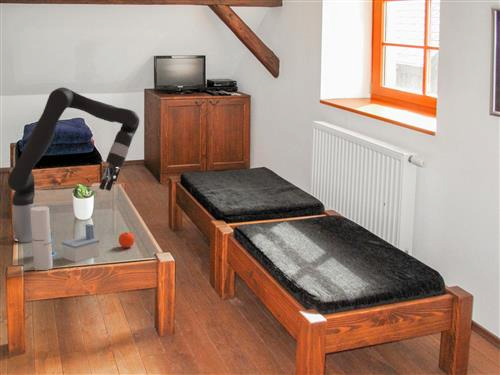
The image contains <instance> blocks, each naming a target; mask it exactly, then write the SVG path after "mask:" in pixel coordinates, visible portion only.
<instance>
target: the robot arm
mask: <svg viewBox="0 0 500 375" xmlns="http://www.w3.org/2000/svg"><path fill="white" fill-rule="evenodd" d="M68 108H70V109H76V110H78V111H79V110H80V111H83V112H84V113H87V114H89V115H91V116H93V117H95V118H97V119H100V120H102V121H103V120H104V121H105V122H106V121H107V122H110V123H117V124H121V126H120V129H119V130H118V132H117V133H116V134H115V138H114V140H113V143H112V145H111V147H110V149H109V151H108V155H107V157H106V160H105V163H107V164H108V166H107V165H105V166H104V169H103V171H102V174H101V175H100V180H101V181H100V185H99V187H98V189H100V190H102V191H103V190H104V191H105V190H106V191H108V192H110V191H111V189H112V188H113V184H114V183H115V182H117V179H118V177H119V174H120V172H121V168H123V167H124V164H125V161H126V160H127V159H126V158H127V156H128V153H129V149H130V146H131V143H132V141H133V138H134V136H135V134H136V132H137V130H138V128H139V125H140V117H139V115H138V114H137V112H136V111H134V110H131V109H128V108H123V107H122V108H121V107H118V106H117V107H116V106H113V105H111V104H108V103H104V102H101V101H98V100H94V99H92V98H89V97H86V96H83V95H82V94H79V93H78V92H75V91H73V90H71V89H69V88H67V87H63V86H61V87H58V88H55V89H54V90H52V91H51V92H50V93H49V96H48V98H47V100H46V104H45V107H44V109H43V112H42V114H41V116H40V118H39V119H38V121H37V122H36V124H35V126H34V128H33V130H32V132H30V135H29V136H28V140H27V141H26V144H25V146H24V148H23V150H22V152H21V155H20V157H19V158H18V160H17V162H16V164H15V165H14V167H13V169H12V170H11V171H10V173H9V174H8V178H7V185H8V187H9V188H10V189H11V190H12V191H14V194H13V196H12V199H11V203H12V216H13V220H12V227H13V239H14V240H15V239H17V240H18V241H19V242H18V243H31V242H33V240H32V225H31V210H30V209H31V208H33V207H35V205H34V198H35V193H36V192H35V190H36V189H35V188H36V187H35V177H34V173H33V172H32V171H33V169H34V167H36V164H37V163H38V162H39V161H40V160H41V158H42V157H43V156H44V155H45V154H46V152H47V151H48V149H49V147H50V145H51V143H52V141H53V139H54V136H55V133H56V129H57V124H58V122H59V120H60V118H61V116H62V115H63V113H64V112H65V110H66V109H68ZM14 240H13V241H14Z"/></svg>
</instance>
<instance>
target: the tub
mask: <svg viewBox="0 0 500 375" xmlns="http://www.w3.org/2000/svg"><path fill="white" fill-rule="evenodd" d="M61 245H62V257H63V259H66V260H68V261H72V262H75V263H77V262H81V261H85V260H88V259H89V260H90V259H93V258H96V257H99V256H100V246H99V245H100V241H99V242H98V243H94V244H90V245H87V246H83V247H79V248H72V247H69V246H66V245H63V244H62V243H61Z"/></svg>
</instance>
